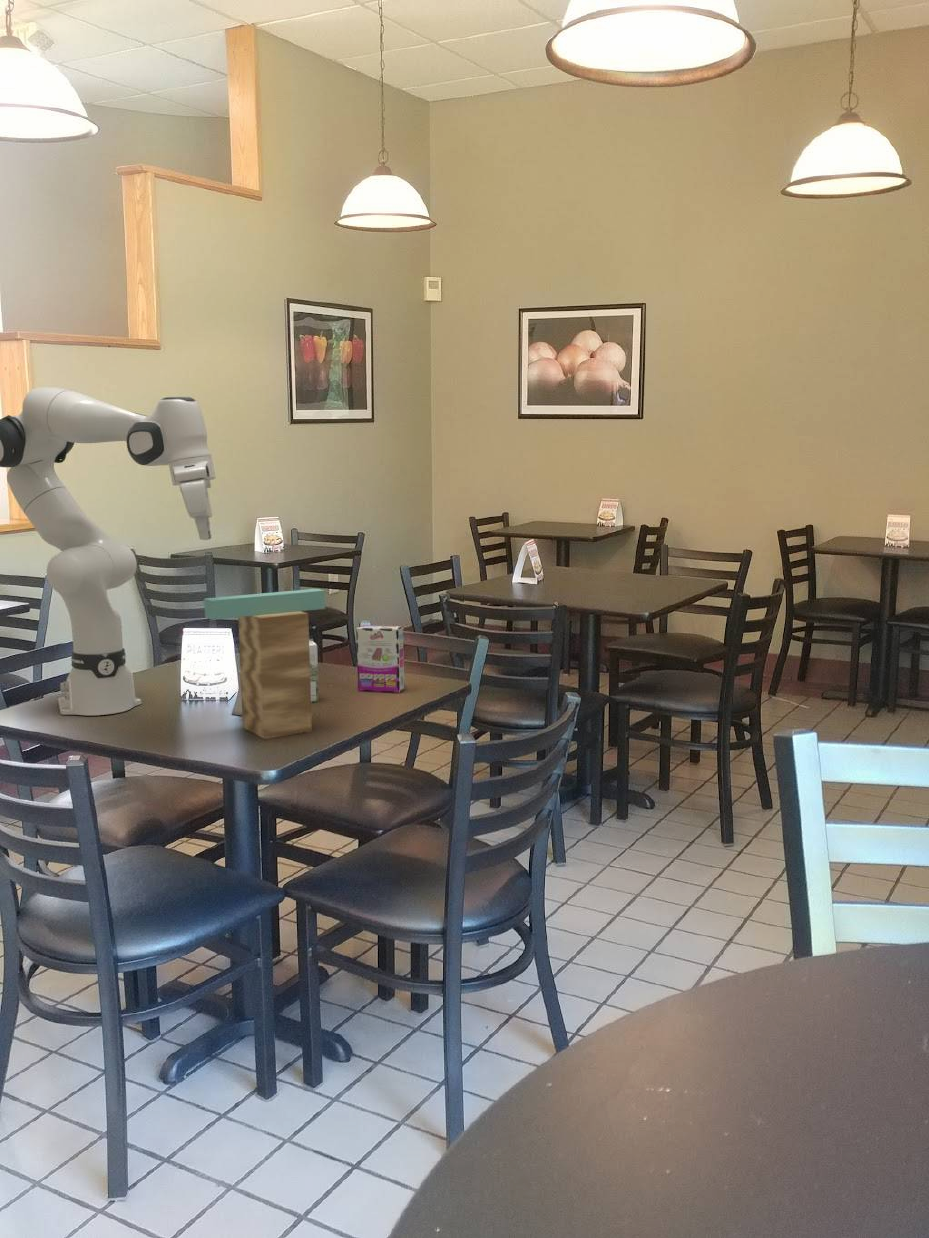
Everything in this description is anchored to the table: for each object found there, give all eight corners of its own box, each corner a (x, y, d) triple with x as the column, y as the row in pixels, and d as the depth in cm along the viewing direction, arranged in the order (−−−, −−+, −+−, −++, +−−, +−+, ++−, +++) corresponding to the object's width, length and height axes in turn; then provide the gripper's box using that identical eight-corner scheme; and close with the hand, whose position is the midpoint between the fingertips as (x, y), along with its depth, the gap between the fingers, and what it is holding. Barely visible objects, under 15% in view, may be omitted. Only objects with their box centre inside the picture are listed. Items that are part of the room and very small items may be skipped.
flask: (255, 717, 251) (254, 674, 249) (226, 715, 252) (224, 673, 250) (267, 709, 258) (266, 668, 256) (238, 708, 259) (237, 667, 257)
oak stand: (242, 727, 242) (238, 611, 237) (288, 719, 248) (284, 606, 244) (264, 739, 232) (260, 618, 228) (311, 731, 238) (308, 613, 234)
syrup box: (311, 697, 270) (309, 639, 268) (319, 702, 265) (317, 643, 262) (289, 699, 267) (287, 641, 265) (296, 704, 262) (294, 645, 260)
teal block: (204, 617, 229) (204, 598, 229) (317, 606, 244) (316, 588, 243) (211, 619, 226) (211, 600, 225) (325, 608, 240) (324, 590, 240)
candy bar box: (405, 689, 278) (404, 625, 275) (399, 693, 273) (398, 629, 270) (363, 687, 280) (362, 624, 278) (357, 691, 276) (355, 627, 273)
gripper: (181, 479, 237) (194, 542, 238) (173, 473, 216) (187, 542, 218) (210, 474, 238) (223, 537, 239) (205, 467, 217) (218, 536, 219)
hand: (206, 539), depth 228 cm, fingers open, 8 cm apart
